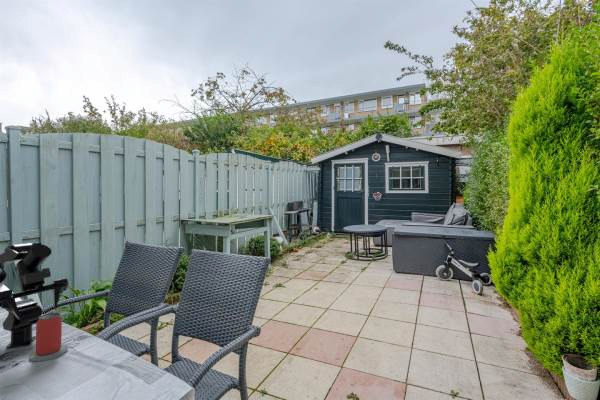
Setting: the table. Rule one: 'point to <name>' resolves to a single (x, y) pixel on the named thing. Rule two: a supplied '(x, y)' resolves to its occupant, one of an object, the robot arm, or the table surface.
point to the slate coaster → (37, 358)
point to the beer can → (48, 334)
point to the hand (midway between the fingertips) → (38, 313)
